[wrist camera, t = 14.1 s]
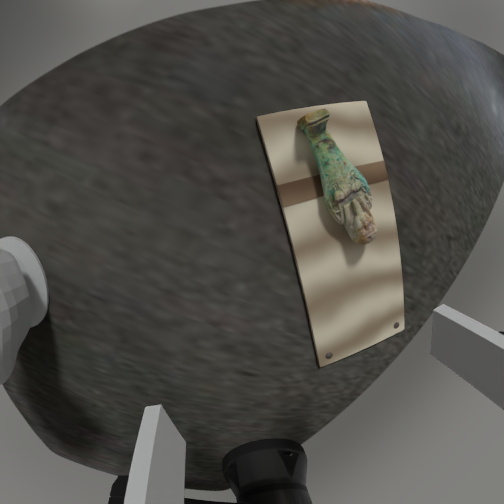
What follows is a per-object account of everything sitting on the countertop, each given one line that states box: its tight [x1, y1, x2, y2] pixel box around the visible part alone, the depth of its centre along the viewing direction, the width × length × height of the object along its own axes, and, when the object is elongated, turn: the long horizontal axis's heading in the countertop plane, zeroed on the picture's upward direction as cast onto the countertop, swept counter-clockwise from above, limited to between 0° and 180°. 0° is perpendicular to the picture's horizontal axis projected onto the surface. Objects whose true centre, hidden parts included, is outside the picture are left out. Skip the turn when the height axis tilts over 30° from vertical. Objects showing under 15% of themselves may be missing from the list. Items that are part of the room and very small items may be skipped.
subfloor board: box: [256, 101, 404, 367], centre depth 31 cm, size 32×14×1 cm, turn 16°
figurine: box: [297, 108, 377, 245], centre depth 27 cm, size 6×15×4 cm, turn 21°
